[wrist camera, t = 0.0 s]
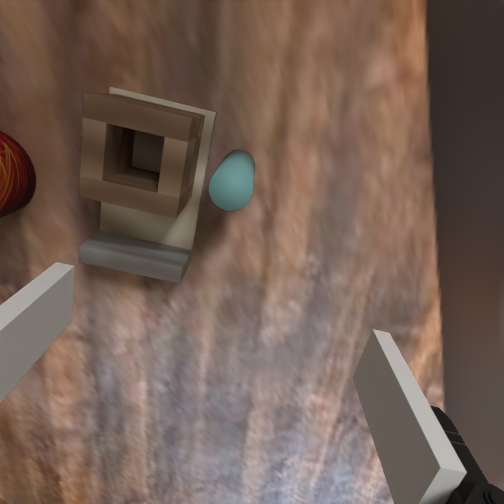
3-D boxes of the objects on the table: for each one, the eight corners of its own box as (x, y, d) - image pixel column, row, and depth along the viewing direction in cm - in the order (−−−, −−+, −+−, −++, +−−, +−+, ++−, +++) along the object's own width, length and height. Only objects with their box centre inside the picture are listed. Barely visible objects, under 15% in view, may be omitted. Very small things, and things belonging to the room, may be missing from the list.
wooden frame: (113, 87, 38) (88, 84, 33) (216, 112, 39) (209, 113, 33) (101, 243, 45) (78, 263, 39) (189, 263, 46) (179, 285, 40)
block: (118, 94, 38) (83, 92, 30) (205, 115, 38) (191, 118, 31) (111, 179, 41) (78, 196, 34) (191, 198, 42) (175, 218, 34)
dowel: (226, 146, 40) (213, 162, 29) (258, 153, 41) (257, 173, 29) (220, 178, 42) (205, 205, 31) (251, 185, 42) (247, 215, 31)
